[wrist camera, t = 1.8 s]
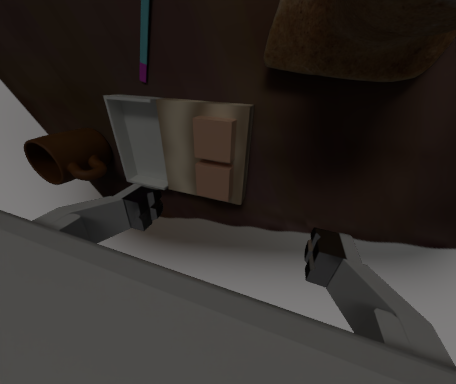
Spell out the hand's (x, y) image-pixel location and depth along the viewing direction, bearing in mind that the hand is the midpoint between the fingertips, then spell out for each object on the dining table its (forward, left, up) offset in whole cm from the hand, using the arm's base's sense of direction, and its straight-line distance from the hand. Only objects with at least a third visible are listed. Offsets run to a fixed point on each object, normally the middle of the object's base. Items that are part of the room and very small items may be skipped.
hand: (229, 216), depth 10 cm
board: (+9, +3, -18) cm, 21 cm away
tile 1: (+7, 0, -16) cm, 17 cm away
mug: (+31, +6, -19) cm, 37 cm away
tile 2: (+7, +6, -16) cm, 19 cm away
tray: (+20, +3, -18) cm, 28 cm away
